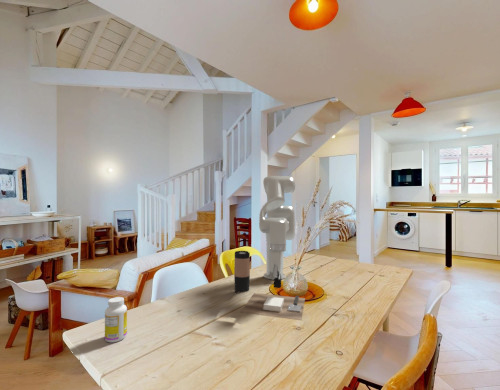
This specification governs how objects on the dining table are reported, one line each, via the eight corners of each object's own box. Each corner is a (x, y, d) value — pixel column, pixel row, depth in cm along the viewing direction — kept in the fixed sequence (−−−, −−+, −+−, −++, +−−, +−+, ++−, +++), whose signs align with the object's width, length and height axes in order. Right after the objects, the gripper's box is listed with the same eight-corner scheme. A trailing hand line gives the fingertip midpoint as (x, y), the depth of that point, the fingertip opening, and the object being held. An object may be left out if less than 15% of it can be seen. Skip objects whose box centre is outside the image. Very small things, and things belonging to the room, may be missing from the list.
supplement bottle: (121, 330, 92) (121, 294, 92) (130, 337, 88) (130, 298, 88) (101, 338, 87) (101, 299, 87) (109, 345, 83) (110, 305, 83)
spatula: (291, 297, 120) (291, 295, 120) (302, 298, 119) (302, 296, 119) (287, 310, 106) (287, 308, 106) (300, 312, 104) (300, 309, 104)
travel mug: (231, 293, 129) (231, 252, 129) (239, 288, 135) (239, 250, 136) (244, 296, 125) (245, 254, 125) (252, 291, 132) (252, 251, 132)
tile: (268, 296, 115) (263, 304, 107) (283, 298, 113) (280, 306, 105) (268, 301, 115) (263, 309, 107) (283, 303, 113) (280, 311, 105)
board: (254, 296, 125) (254, 292, 125) (305, 301, 119) (305, 298, 119) (240, 316, 104) (240, 312, 104) (301, 324, 98) (301, 320, 98)
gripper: (272, 243, 127) (272, 280, 127) (266, 250, 113) (265, 292, 113) (288, 244, 125) (287, 282, 125) (283, 251, 111) (283, 294, 111)
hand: (277, 287), depth 119 cm, fingers closed
